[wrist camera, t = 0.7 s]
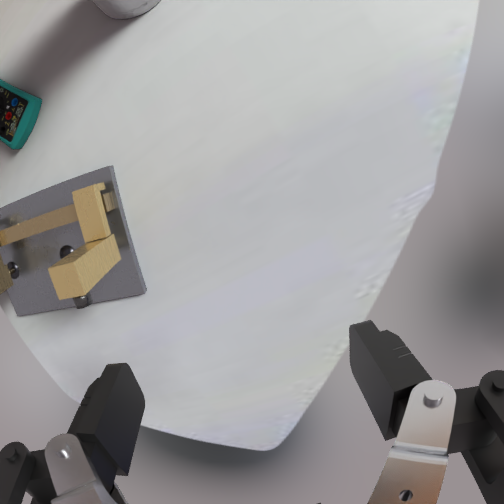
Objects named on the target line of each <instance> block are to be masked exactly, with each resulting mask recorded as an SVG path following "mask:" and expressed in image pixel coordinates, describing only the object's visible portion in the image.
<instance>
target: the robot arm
mask: <svg viewBox="0 0 504 504" xmlns="http://www.w3.org/2000/svg"><path fill="white" fill-rule="evenodd" d="M92 1H93V2H94V3H95V4H96V5H97V6H98V7H99V8H100V9H101V10H102V11H103V12H104V13H105V14H106V15H108V16H109V17H112V18H115V19H129V18H132V17H136V16H139V15H141V14H143V13H145V12H147V11H149V10H150V9H151V8H153V7H154V6H155V5H156V4H157V3H158V2H159V1H160V0H92ZM349 339H350V365H351V369H352V373H353V375H354V377H355V379H356V381H357V383H358V385H359V387H360V389H361V391H362V393H363V395H364V398H365V400H366V401H367V403H368V406H369V408H370V410H371V412H372V414H373V416H374V418H375V420H376V422H377V424H378V426H379V428H380V430H381V433H382V435H383V437H384V439H385V441H386V440H389V439H392V438H395V437H396V441H395V443H394V446H392V448H391V451H390V453H389V455H388V458H387V460H386V463H385V465H384V468H383V470H382V472H381V475H380V477H379V480H378V482H377V484H376V486H375V488H374V491H373V493H372V495H371V497H370V499H369V501H368V503H367V504H436V503H437V500H438V497H439V493H440V490H441V486H442V483H443V479H444V475H445V471H446V467H447V463H448V457H449V455H448V454H451V453H456V452H461V453H462V455H463V457H464V459H465V461H466V463H467V465H468V467H469V469H470V470H471V473H472V475H473V476H474V478H475V480H476V482H477V484H478V486H479V489H480V490H481V493H482V495H483V497H484V499H485V501H486V503H487V504H504V371H502V370H495V371H491V372H488V373H487V374H485V375H484V376H483V377H482V379H481V381H480V384H479V386H476V387H470V388H464V389H453V388H452V387H451V386H450V385H449V384H447V383H445V382H443V381H439V380H432V378H431V377H430V376H429V374H428V373H427V372H426V371H425V369H424V368H423V367H422V365H421V364H420V363H419V362H418V360H417V359H416V358H415V356H414V355H413V354H411V351H410V350H409V349H408V347H406V346H405V344H404V342H403V341H402V340H401V339H400V337H399V336H397V335H396V334H394V333H392V332H390V331H388V330H385V331H381V332H380V331H379V330H378V329H377V327H376V326H375V324H374V323H373V322H372V321H371V320H369V321H365V322H361V323H357V324H353V325H350V328H349ZM80 405H81V406H80V407H79V408H78V411H77V413H76V415H75V417H74V419H73V422H72V423H71V426H70V428H69V430H68V432H67V433H66V434H60V435H58V436H56V437H54V438H53V439H52V440H50V442H49V443H48V444H47V446H46V448H45V449H44V450H38V451H32V452H30V451H29V450H28V449H27V448H26V447H25V446H24V444H22V443H20V442H12V443H9V444H8V445H6V446H5V447H4V448H3V449H2V450H1V451H0V504H21V503H22V499H23V497H24V494H25V491H26V492H27V493H29V494H30V495H31V496H32V497H33V498H32V501H31V504H128V502H127V501H126V499H125V497H124V496H123V494H122V492H121V491H120V489H119V487H118V485H117V484H116V483H115V482H114V480H115V476H116V475H122V476H128V473H129V469H130V464H131V460H132V456H133V452H134V448H135V444H136V440H137V436H138V432H139V428H140V424H141V420H142V417H143V413H144V409H145V399H144V395H143V392H142V390H141V388H140V386H139V384H138V382H137V380H136V378H135V376H134V374H133V372H132V370H131V368H130V366H129V365H128V364H127V363H118V364H108V365H106V367H105V369H104V371H103V373H102V375H101V377H100V378H97V379H96V380H95V381H94V382H93V383H92V384H91V385H90V386H89V388H88V390H87V392H86V394H85V396H84V398H83V400H82V402H81V404H80ZM318 504H321V503H318Z"/></svg>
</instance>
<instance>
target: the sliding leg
mask: <svg viewBox="0 0 504 504" xmlns="http://www.w3.org/2000/svg"><path fill="white" fill-rule="evenodd" d="M104 189H105V184H104V182H103V183H98V184H94V185H91V186H88V187H85V188H82V189H79V190H76V191H73V192H72V195H73V201H74V205H75V208H76V212H77V216H78V220H79V223H80V227H81V230H82V234H83V237H84V241H85V244H84V245H82V246H80V247H79V248H77V249H76V250H74V251H73V252H71V253H70V254H68V255H67V256H65V257H64V258H63V259H61V260H60V261H58V262H57V263H55V264H54V265H52V266H51V267H49V268H48V271H49V274H50V277H51V279H52V282H53V285H54V288H55V290H56V293H57V295H58V298H59V300H62V299H67V298H73V301H74V304H75V306H76V308H77V309H80V308H84V307H87V306H89V305H90V304H92V302H93V300H92V297H91V294H90V292H89V291H90V290H91V289H92V288H93V287H94V286H95V284H96V283H97V282H98V281H99V280H100V279H101V278H102V277H103V276H104V275H105V274H106V273H107V272H108V271H109V270H110V269H111V268H112V267H113V266H114V265H115V264H116V263H117V262H119V261H120V260H121V256H120V253H119V250H118V246H117V243H116V240H115V236H114V233H113V234H111V232H110V228H109V224H108V221H107V217H106V213H105V210H104V206H103V202H102V198H101V194H100V191H101V190H104ZM86 242H87V243H86Z"/></svg>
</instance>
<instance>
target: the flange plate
mask: <svg viewBox="0 0 504 504" xmlns="http://www.w3.org/2000/svg"><path fill="white" fill-rule="evenodd" d="M103 182H104V184H105V189H104V190H101V191H100V194H101V195H102V194H105V193H109V192H111V193H112V197H113V201H114V205H115V209H113V210H111V211H108V212H106V217H107V221H108V224H109V228H110V232H111V234H113V233H114V236H115V240H116V243H117V246H118V250H119V253H120V256H121V260H120V261H119V262H117V263H116V264H115V265H114V266H113V267H112V268H111V269H110V270H109V271H108V272H107V273H106V274H105V275H104V276H103V277H102V278H101V279H100V280H99V281H98V282H97V283H96V284H95V286H94V287H93V288H92V289H91V290H90V291H89V292H90V294H91V297H92V300H93V302H92V303H96V302H102V301H107V300H113V299H118V298H124V297H129V296H134V295H140V294H145V292H146V291H147V288H146V285H145V282H144V279H143V276H142V273H141V270H140V266H139V263H138V260H137V256H136V253H135V250H134V246H133V243H132V239H131V236H130V232H129V229H128V225H127V221H126V218H125V214H124V210H123V206H122V202H121V198H120V194H119V190H118V186H117V182H116V177H115V173H114V168H113V166H107V167H104V168H101V169H98V170H95V171H92V172H89V173H87V174H84V175H81V176H78V177H75V178H73V179H70V180H67V181H64V182H62V183H59V184H57V185H54V186H51V187H49V188H46V189H44V190H41V191H39V192H36V193H34V194H32V195H29V196H27V197H24V198H22V199H20V200H17V201H15V202H13V203H11V204H8V205H6V206H4V207H2V208H0V231H1V230H3V229H6V228H8V227H11V226H13V225H16V224H19V223H21V222H24V221H26V220H29V219H32V218H34V217H37V216H40V215H43V214H45V213H48V212H51V211H54V210H57V209H59V208H62V207H65V206H68V205H71V204H74V201H73V195H72V192H73V191H76V190H79V189H82V188H85V187H88V186H91V185H94V184H98V183H103ZM86 243H87V242H86ZM84 244H85V241H84V237H83V234H82V230H81V227H80V223H79V221H75V222H72V223H69V224H66V225H63V226H59V227H56V228H53V229H50V230H47V231H44V232H41V233H38V234H35V235H32V236H29V237H26V238H23V239H21V240H18V241H15V242H12V243H9V244H7V245H4V246H1V247H0V254H1V257H2V260H3V263H4V265H5V264H7V266H8V269H10V268H14V270H15V273H14V274H12V275H11V278H12V281H13V283H14V285H13V286H11V287H10V288H8V289H7V292H8V294H9V297H10V299H11V302H12V304H13V307H14V309H15V311H16V314H17V316H21V315H27V314H33V313H39V312H45V311H51V310H57V309H63V308H68V307H74V306H75V304H74V301H73V298H67V299H62V300H59V298H58V295H57V293H56V290H55V288H54V285H53V282H52V279H51V277H50V274H49V271H48V268H49V267H51V266H52V265H54V264H55V263H57V262H58V261H60V260H61V259H63V258H64V257H65V256H67V255H68V254H70V253H71V252H73V251H74V250H76V249H77V248H79V247H80V246H82V245H84Z"/></svg>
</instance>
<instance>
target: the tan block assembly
mask: <svg viewBox="0 0 504 504" xmlns="http://www.w3.org/2000/svg"><path fill="white" fill-rule="evenodd" d="M101 198H102V202H103V206H104V210H105V213H106V212H108V211H111V210H113V209H115V205H114V201H113V197H112V193H111V192H109V193H105V194H102V195H101ZM75 221H79V220H78V216H77V212H76V208H75V205H74V204H71V205H68V206H65V207H62V208H59V209H57V210H54V211H51V212H48V213H45V214H43V215H40V216H37V217H34V218H32V219H29V220H26V221H24V222H21V223H19V224H16V225H13V226H11V227H8V228H6V229H3V230H1V231H0V247H1V246H4V245H7V244H9V243H12V242H15V241H18V240H21V239H23V238H26V237H29V236H32V235H35V234H38V233H41V232H44V231H47V230H50V229H53V228H56V227H59V226H63V225H66V224H69V223H72V222H75ZM14 273H15V270H14V268H10V269H8V266H7V264H5V265H4V263H3V260H2V257H1V254H0V294H2V293H3V292H4V291H6V290H7V289H8V288H10V287H11V286H13V285H14V283H13V281H12V278H11V275H12V274H14Z"/></svg>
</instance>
